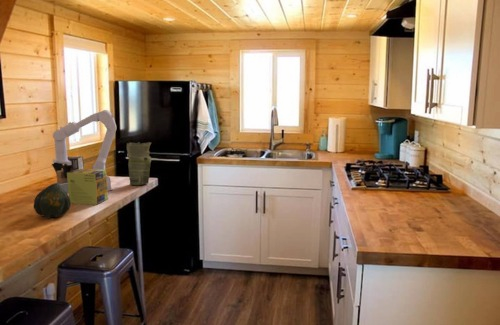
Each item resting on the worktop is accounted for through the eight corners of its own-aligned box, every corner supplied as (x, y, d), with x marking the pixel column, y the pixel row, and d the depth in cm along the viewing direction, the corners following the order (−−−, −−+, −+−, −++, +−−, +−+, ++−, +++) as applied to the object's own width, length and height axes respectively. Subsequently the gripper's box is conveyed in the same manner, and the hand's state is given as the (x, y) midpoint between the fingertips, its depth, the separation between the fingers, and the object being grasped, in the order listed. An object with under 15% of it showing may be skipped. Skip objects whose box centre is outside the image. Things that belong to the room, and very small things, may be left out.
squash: (25, 210, 170) (49, 182, 172) (28, 203, 183) (51, 176, 186) (55, 229, 175) (78, 201, 178) (56, 220, 189) (78, 194, 191)
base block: (74, 192, 223) (73, 182, 222) (61, 194, 217) (60, 184, 217) (67, 190, 227) (67, 180, 226) (55, 192, 222) (54, 182, 221)
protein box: (97, 205, 198) (95, 173, 195) (68, 203, 201) (66, 172, 198) (108, 199, 208) (106, 169, 205) (81, 197, 211) (78, 168, 208)
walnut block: (64, 181, 224) (64, 169, 223) (69, 182, 222) (68, 170, 221) (57, 182, 221) (56, 171, 220) (61, 183, 218) (60, 172, 217)
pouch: (126, 184, 241) (123, 141, 236) (143, 180, 250) (141, 139, 245) (137, 187, 234) (135, 143, 229) (154, 183, 243) (152, 141, 238)
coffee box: (85, 183, 243) (83, 156, 240) (80, 185, 237) (78, 158, 234) (71, 183, 244) (68, 156, 241) (65, 185, 238) (62, 158, 235)
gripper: (46, 151, 219) (48, 176, 222) (61, 154, 211) (63, 180, 213) (59, 150, 225) (61, 174, 227) (74, 152, 217) (76, 177, 219)
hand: (63, 177), depth 221 cm, fingers open, 7 cm apart
